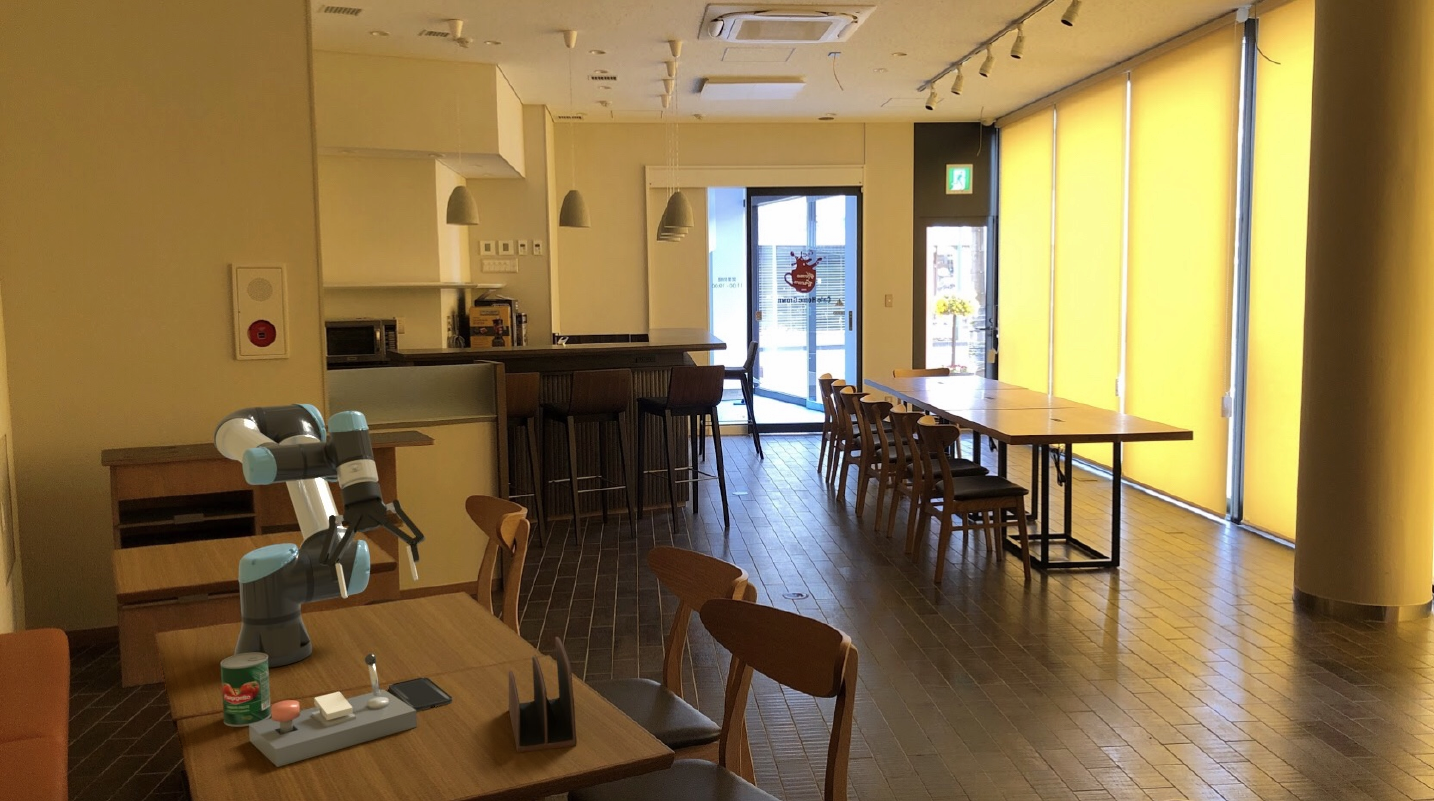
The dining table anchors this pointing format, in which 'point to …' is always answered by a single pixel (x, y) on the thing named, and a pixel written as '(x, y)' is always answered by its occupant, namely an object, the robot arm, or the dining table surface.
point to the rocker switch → (333, 705)
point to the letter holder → (544, 710)
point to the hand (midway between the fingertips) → (380, 588)
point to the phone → (420, 693)
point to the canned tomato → (245, 689)
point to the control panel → (333, 728)
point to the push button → (285, 714)
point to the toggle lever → (373, 673)
